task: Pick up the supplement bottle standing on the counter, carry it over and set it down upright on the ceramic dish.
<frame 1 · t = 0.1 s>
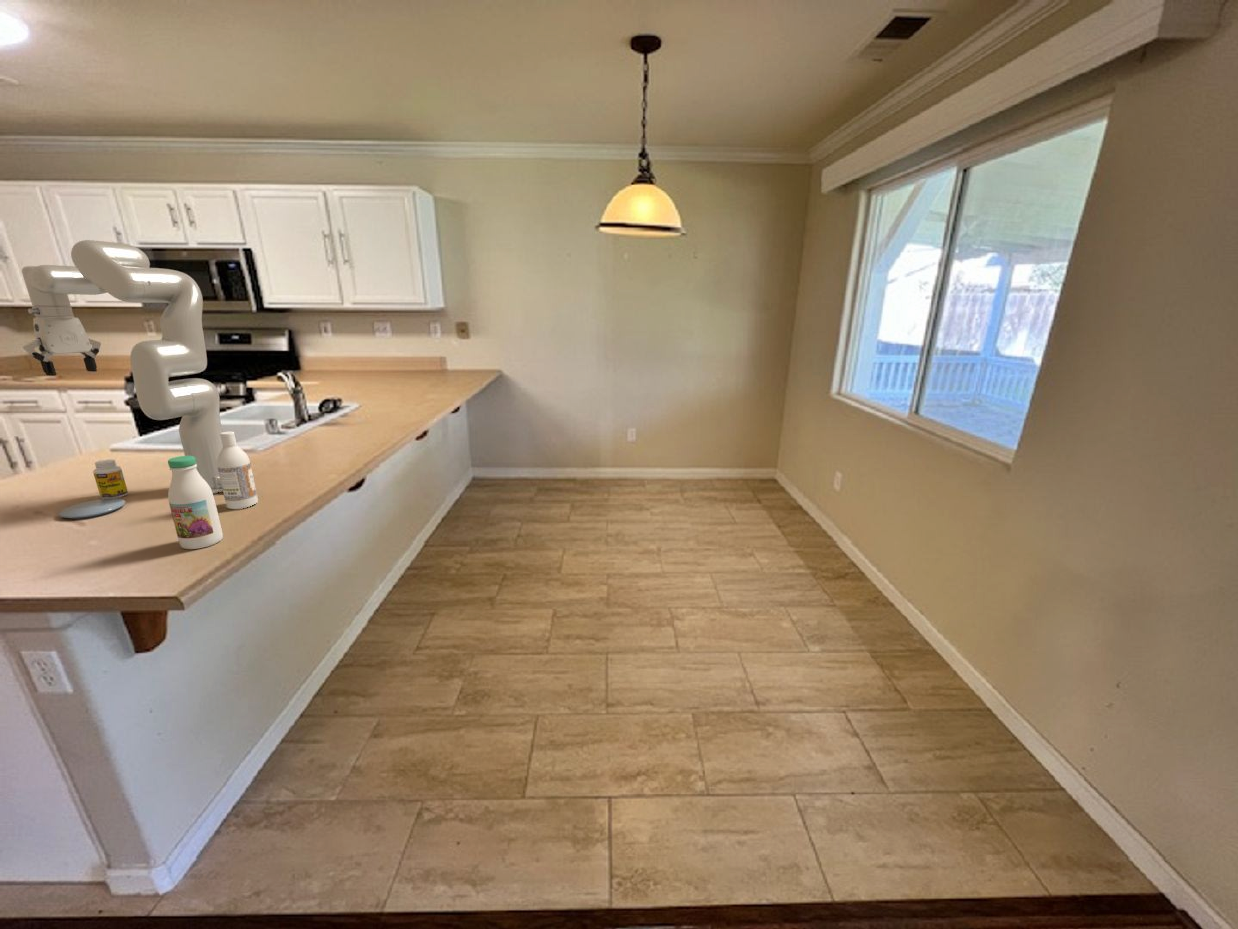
hand: (72, 373, 151), 31 cm above the counter, tool pointing down, fingers open, 9 cm apart
dish: (94, 511, 132), on the counter
supplement bottle: (115, 497, 142), on the counter
milk bottle: (202, 543, 116), on the counter
bath foam: (243, 505, 138), on the counter
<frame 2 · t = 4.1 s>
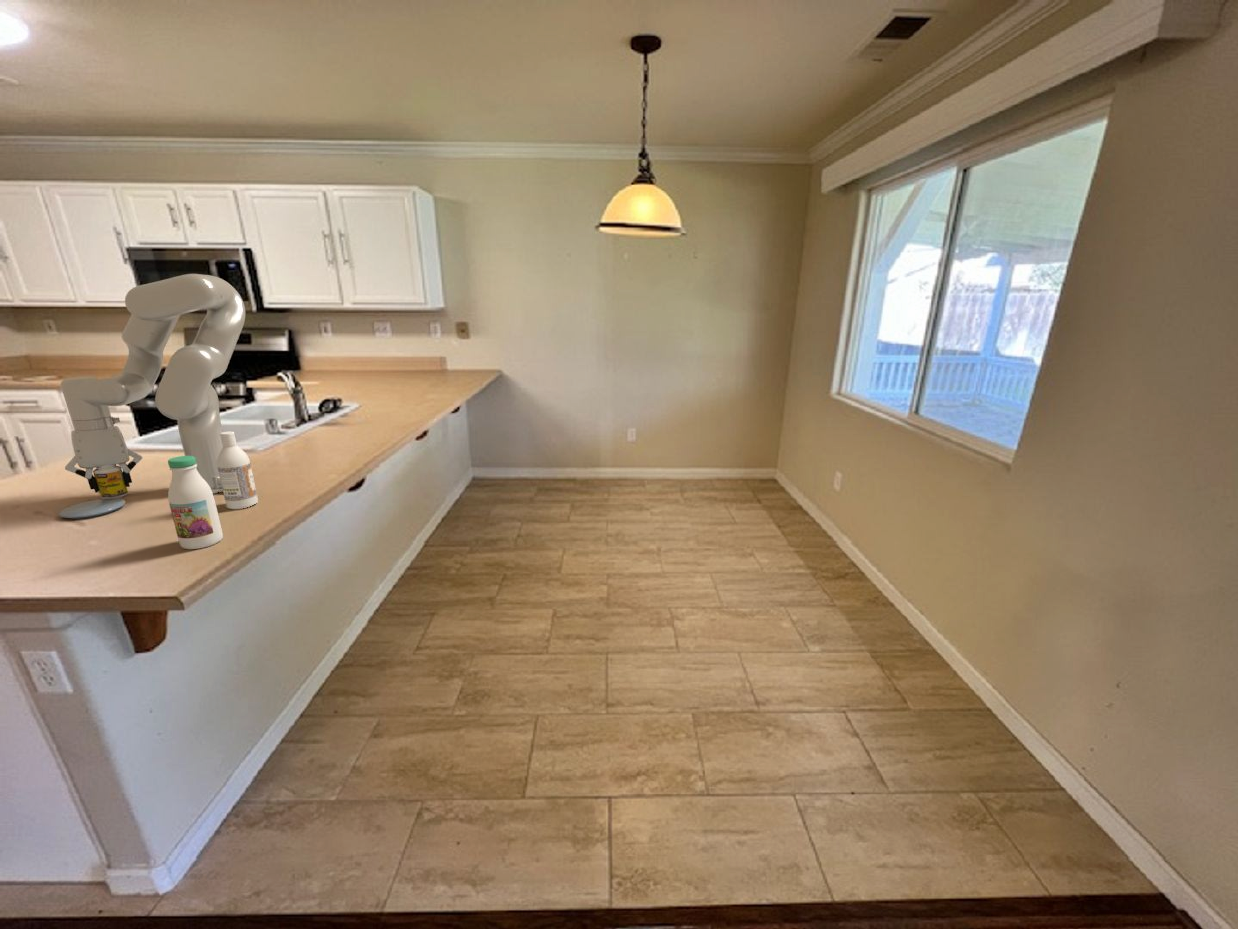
hand: (112, 487, 142), 3 cm above the counter, tool pointing down, fingers closed on supplement bottle, 5 cm apart
supplement bottle: (115, 497, 142), on the counter, touching gripper
everything else where it was.
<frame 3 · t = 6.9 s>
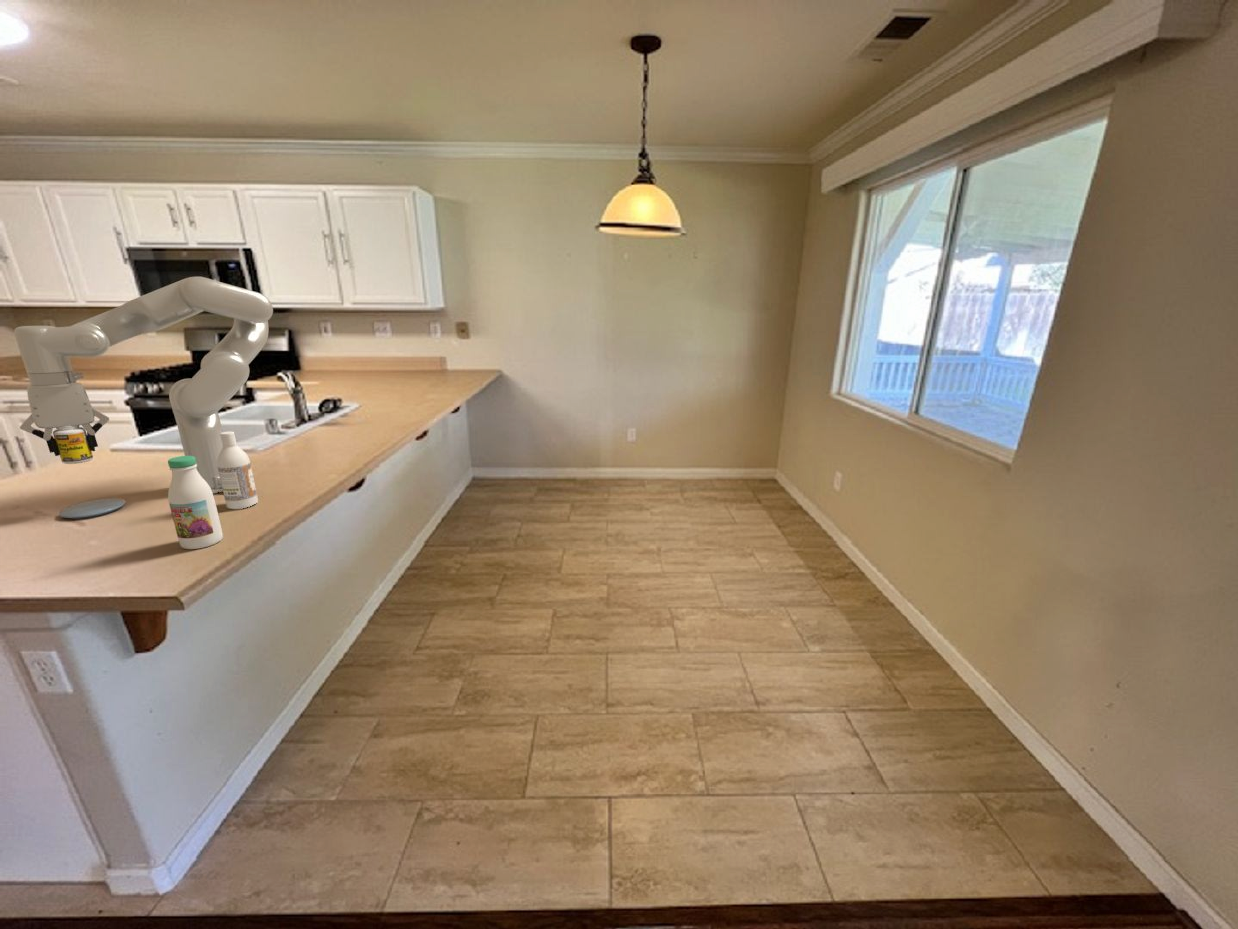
hand: (75, 451, 128), 16 cm above the counter, tool pointing down, fingers closed on supplement bottle, 5 cm apart
supplement bottle: (78, 462, 128), point 13 cm above the counter, touching gripper
everything else where it was.
when the fingers open (5 cm above the counter, at t = 9.6 s): supplement bottle drops 1 cm, resting on dish.
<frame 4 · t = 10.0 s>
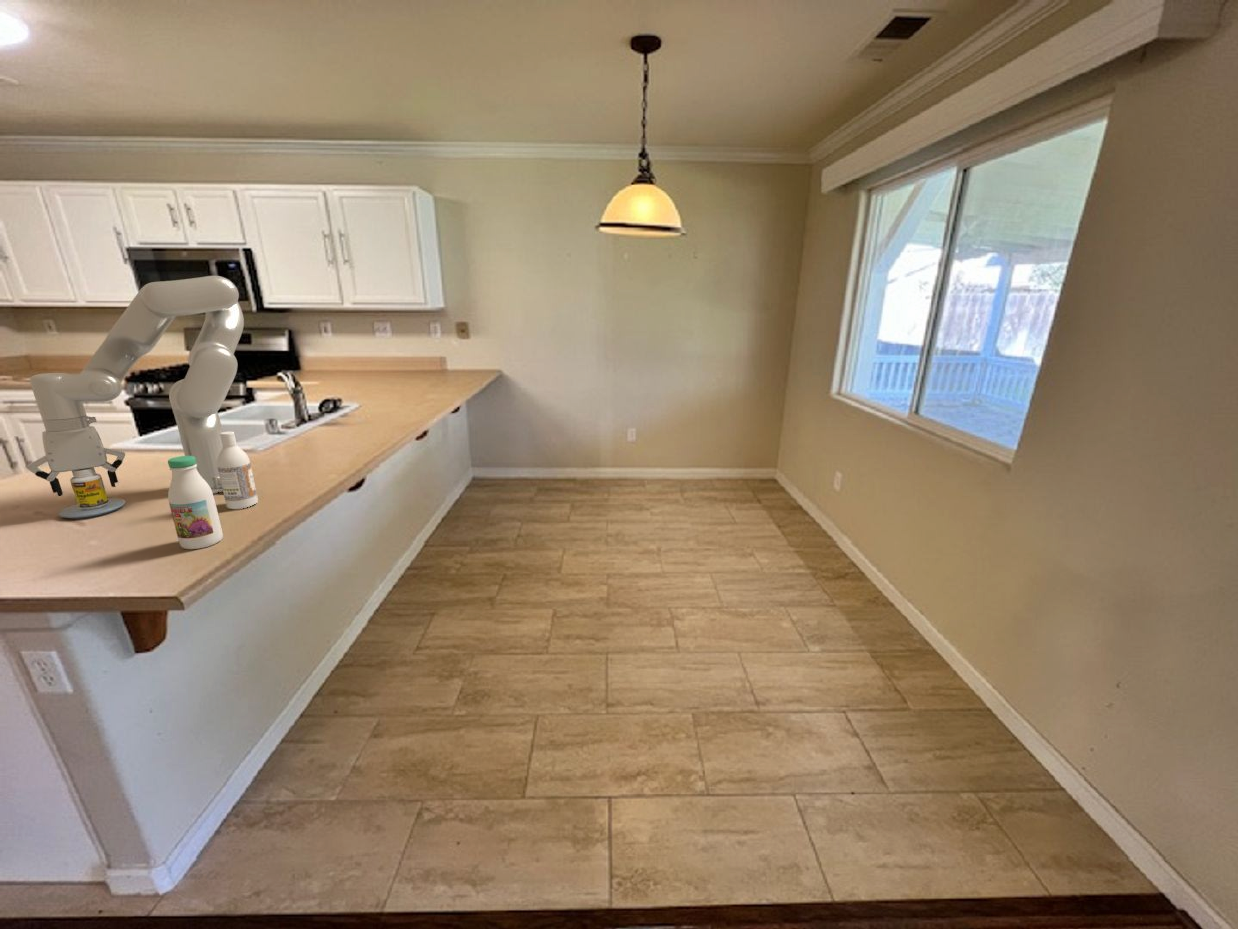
hand: (87, 490, 131), 6 cm above the counter, tool pointing down, fingers open, 9 cm apart
supplement bottle: (94, 507, 132), point 1 cm above the counter, touching dish
everything else where it was.
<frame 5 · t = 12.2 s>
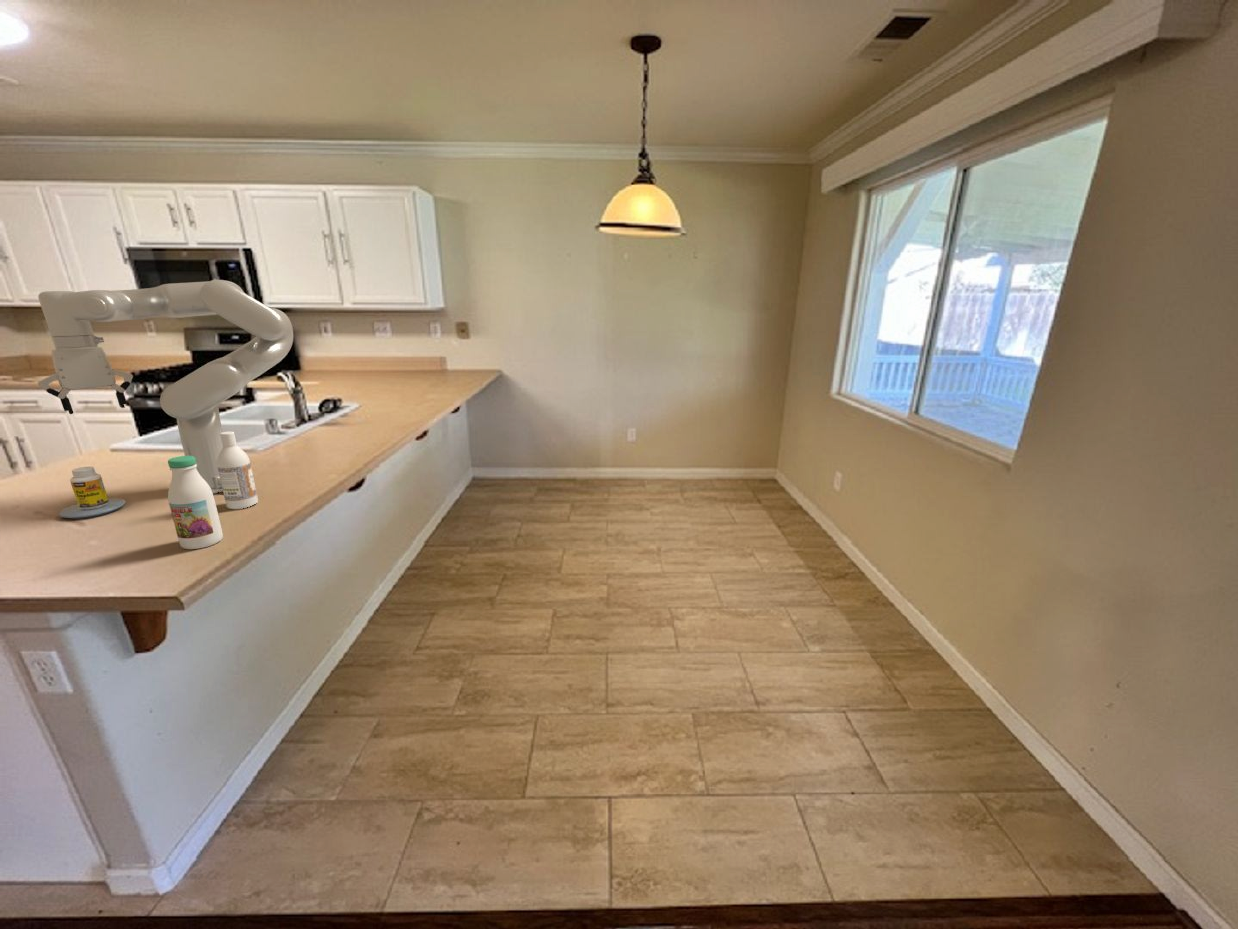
hand: (97, 410, 134), 25 cm above the counter, tool pointing down, fingers open, 9 cm apart
nothing on the counter moved.
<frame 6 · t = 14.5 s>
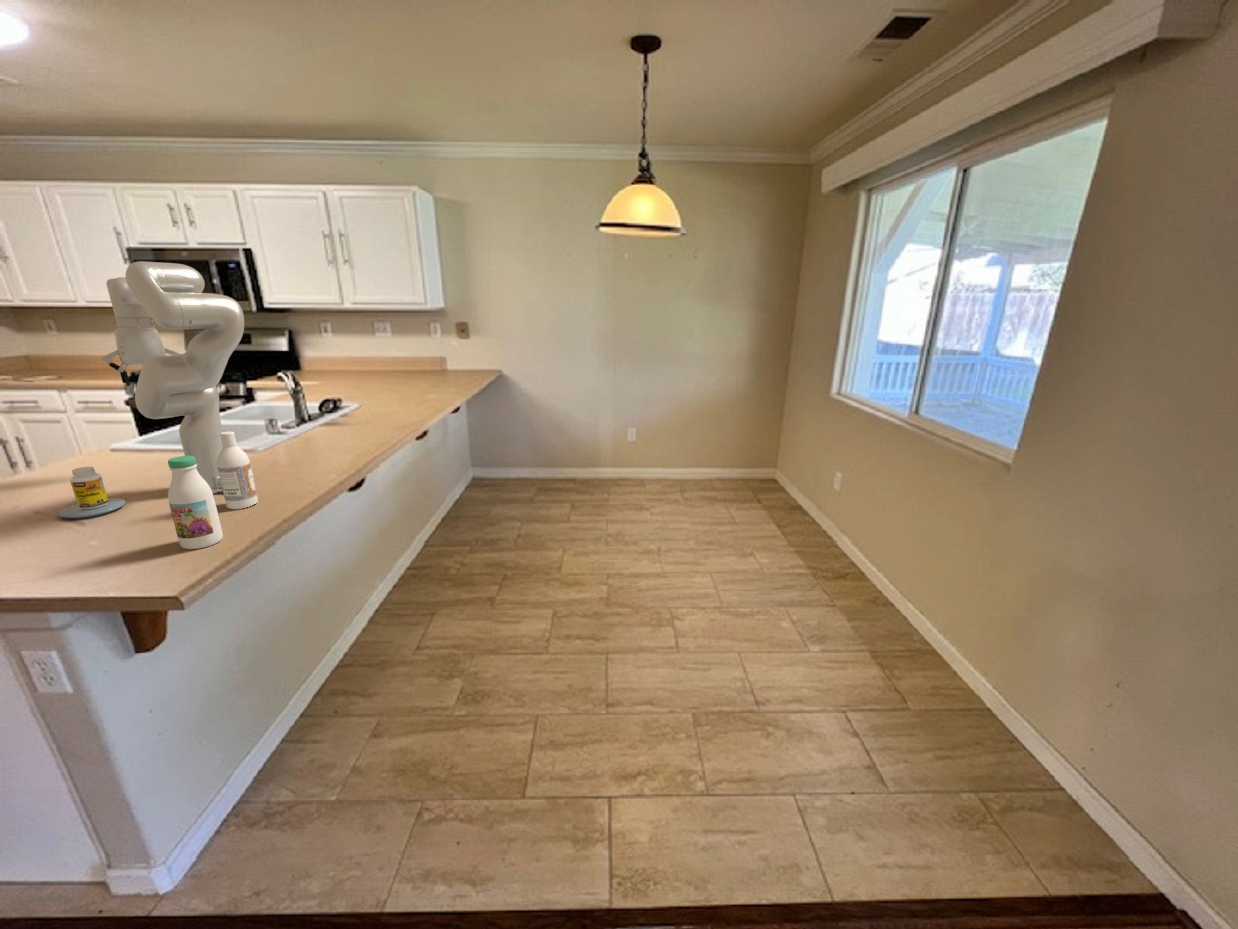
hand: (150, 383, 153), 28 cm above the counter, tool pointing down, fingers open, 9 cm apart
nothing on the counter moved.
at the end: supplement bottle 0.3 cm from the dish (horizontally); supplement bottle tilted 0°; supplement bottle point 1.0 cm above the counter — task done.
